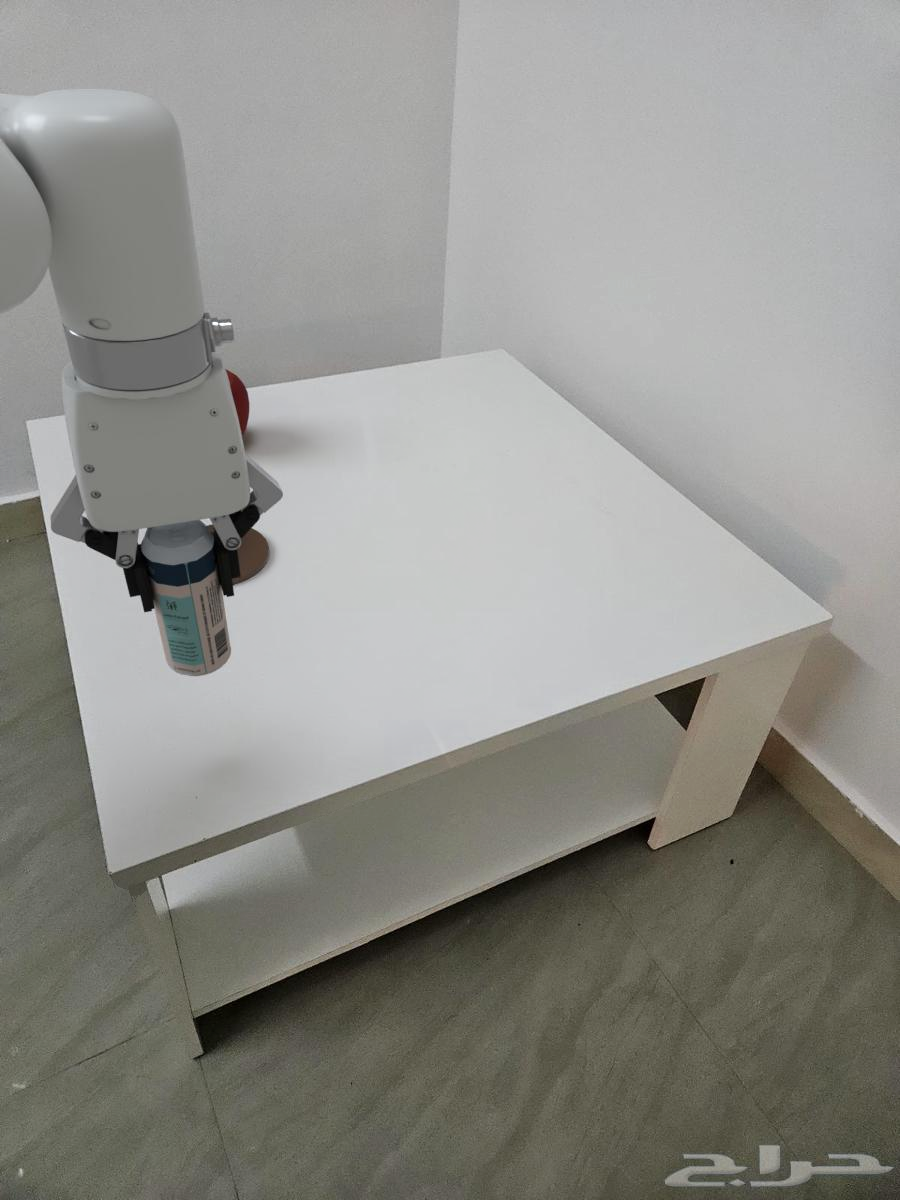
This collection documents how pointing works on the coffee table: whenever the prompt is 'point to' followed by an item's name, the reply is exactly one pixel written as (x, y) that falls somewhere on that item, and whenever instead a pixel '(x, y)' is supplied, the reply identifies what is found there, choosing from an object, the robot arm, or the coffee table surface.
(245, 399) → the apple
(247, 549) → the coaster
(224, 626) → the beer can
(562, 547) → the coffee table surface
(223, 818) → the coffee table surface
